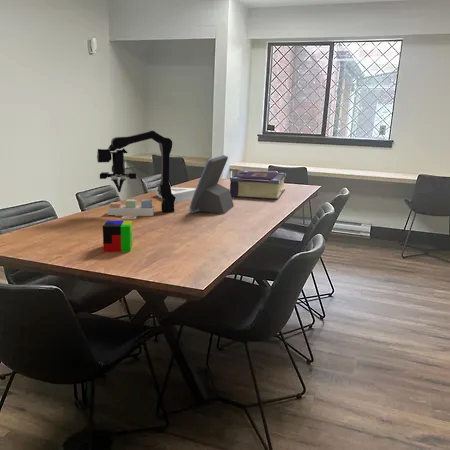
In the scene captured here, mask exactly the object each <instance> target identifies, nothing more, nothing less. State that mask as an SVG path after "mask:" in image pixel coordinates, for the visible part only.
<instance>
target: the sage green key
mask: <svg viewBox="0 0 450 450" xmlns="http://www.w3.org/2000/svg"><path fill="white" fill-rule="evenodd" d="M137 201H138V200H137V199H129V198H126V200H125V206H126V208H136V207H137V206H138V205H137V204H138V202H137Z"/></svg>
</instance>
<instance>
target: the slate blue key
mask: <svg viewBox="0 0 450 450" xmlns="http://www.w3.org/2000/svg"><path fill="white" fill-rule="evenodd" d="M140 206H141V208H152V206H153V199H142V200H141V201H140Z"/></svg>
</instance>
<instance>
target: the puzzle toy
mask: <svg viewBox="0 0 450 450" xmlns="http://www.w3.org/2000/svg"><path fill="white" fill-rule="evenodd" d="M133 224H134V223H133V220H106V221H105V222H104V224H103V225H102V242H103V243H102V244H103V248H102V249H103V252H104V253H105V252H106V253H107V252H108V253H109V252H110V253H111V252H113V253H117V252H118V253H119V252H120V253H121V252H122V253H123V252H125V253H128V252H131V251H132V248H133V246H134V237H133V236H134V234H133V230H134V228H133Z"/></svg>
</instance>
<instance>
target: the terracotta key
mask: <svg viewBox="0 0 450 450" xmlns="http://www.w3.org/2000/svg"><path fill="white" fill-rule="evenodd" d="M121 205H122V202H119V201H118V202H114V201H112V202H110V203H109V206H110V208H121Z"/></svg>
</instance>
